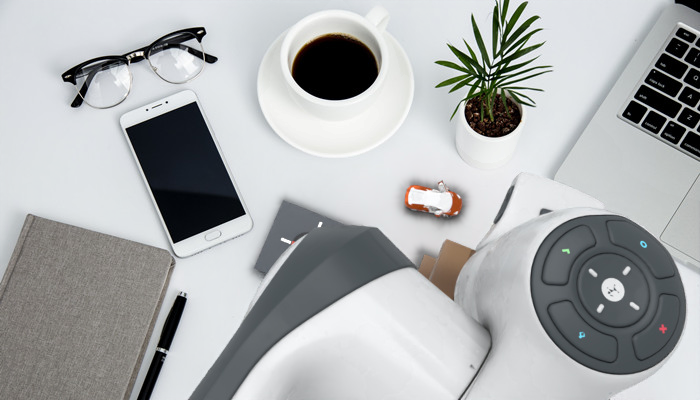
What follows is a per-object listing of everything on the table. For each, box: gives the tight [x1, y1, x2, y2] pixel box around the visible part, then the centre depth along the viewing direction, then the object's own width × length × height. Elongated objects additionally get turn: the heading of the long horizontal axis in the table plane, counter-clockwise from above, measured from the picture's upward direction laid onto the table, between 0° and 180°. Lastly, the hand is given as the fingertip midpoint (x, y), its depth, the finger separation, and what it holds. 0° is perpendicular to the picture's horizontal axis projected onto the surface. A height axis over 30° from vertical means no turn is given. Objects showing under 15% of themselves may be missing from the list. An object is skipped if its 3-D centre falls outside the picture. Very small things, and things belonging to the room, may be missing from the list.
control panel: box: [253, 199, 345, 275], centre depth 83 cm, size 10×12×3 cm
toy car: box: [404, 179, 463, 219], centre depth 84 cm, size 5×8×3 cm, turn 78°
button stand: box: [417, 238, 476, 301], centre depth 71 cm, size 11×11×24 cm
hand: (484, 304), depth 55 cm, fingers closed
